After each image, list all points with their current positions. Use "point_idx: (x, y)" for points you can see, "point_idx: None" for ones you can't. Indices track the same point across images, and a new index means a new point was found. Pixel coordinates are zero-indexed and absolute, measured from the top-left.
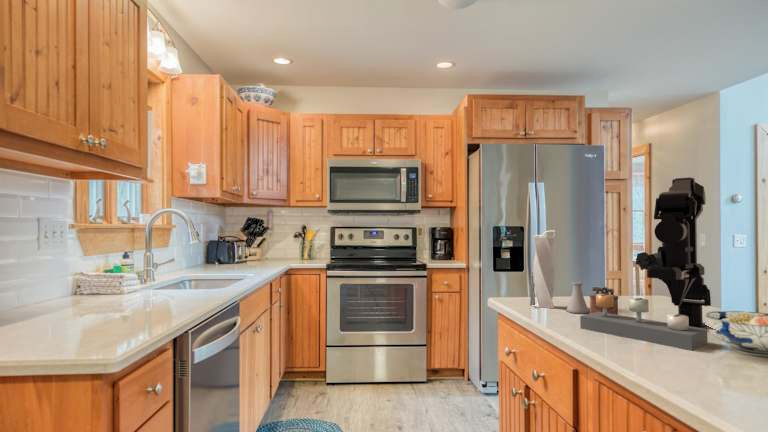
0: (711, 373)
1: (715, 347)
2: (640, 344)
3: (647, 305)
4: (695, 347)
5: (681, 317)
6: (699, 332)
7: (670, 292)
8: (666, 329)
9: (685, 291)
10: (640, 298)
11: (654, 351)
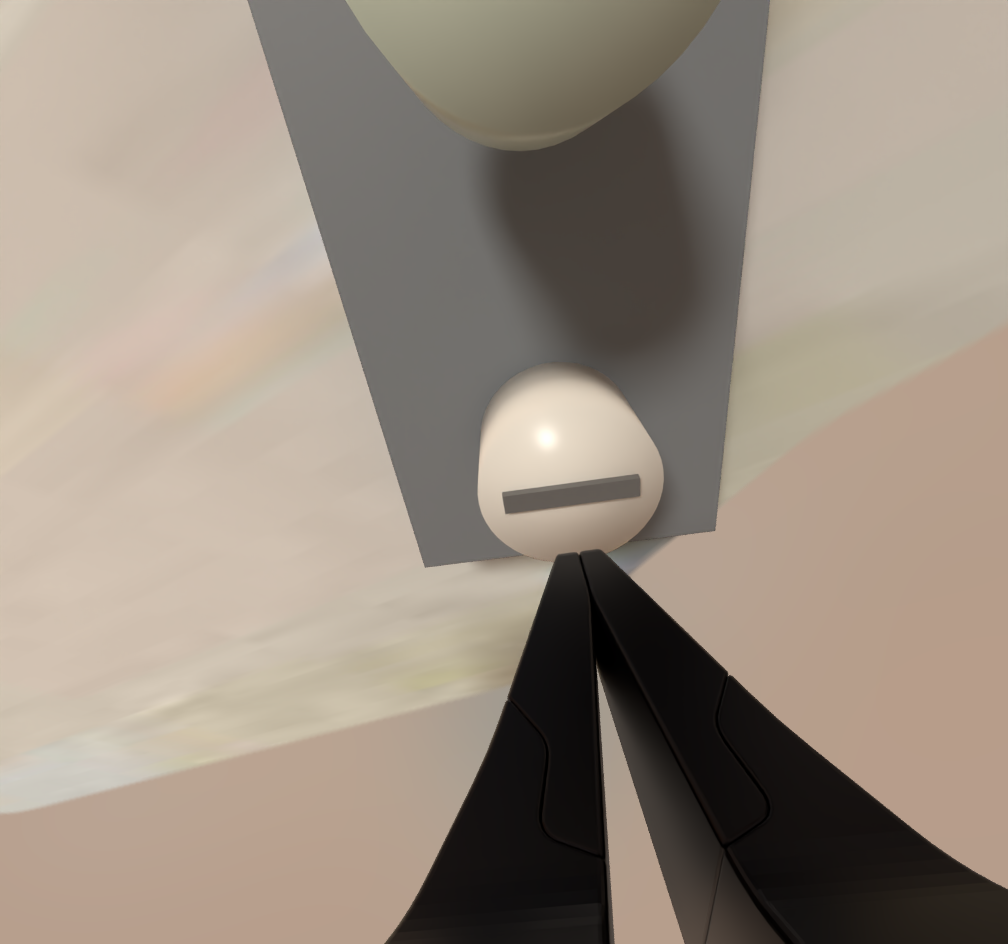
0: (199, 671)
1: None
2: (252, 284)
3: (539, 140)
4: None
5: (520, 541)
6: None
7: (511, 706)
8: (438, 408)
9: (653, 832)
10: None
11: (211, 428)
